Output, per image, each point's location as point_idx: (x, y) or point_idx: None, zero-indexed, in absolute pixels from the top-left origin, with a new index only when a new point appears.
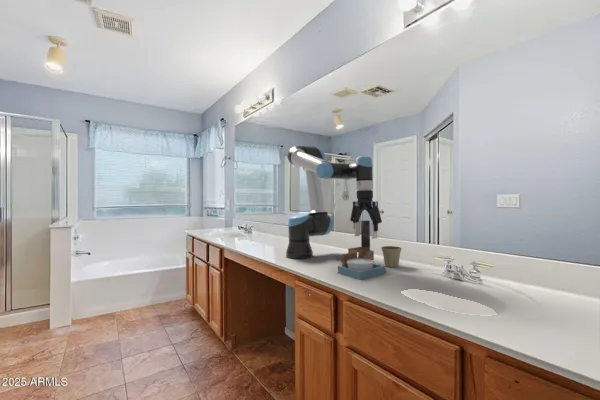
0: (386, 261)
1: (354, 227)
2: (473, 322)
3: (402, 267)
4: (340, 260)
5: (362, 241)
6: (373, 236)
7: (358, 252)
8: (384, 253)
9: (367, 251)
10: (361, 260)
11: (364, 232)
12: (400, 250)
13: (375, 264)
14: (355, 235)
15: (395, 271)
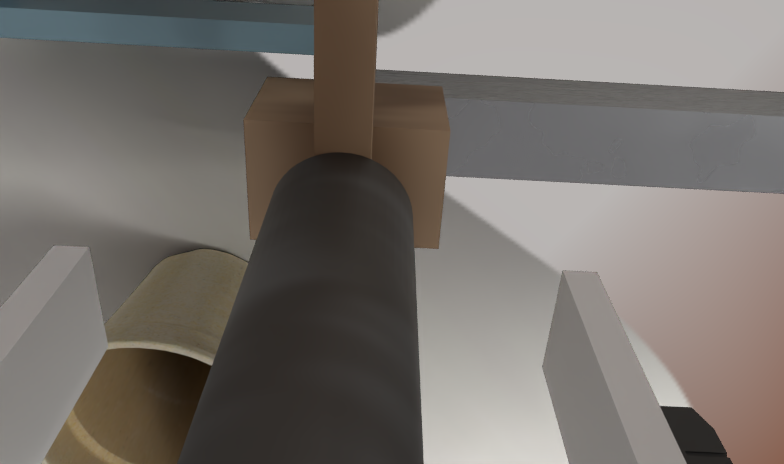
0: (195, 272)
1: (663, 415)
2: None
3: (107, 320)
4: (775, 94)
5: (340, 195)
6: (32, 280)
7: (443, 118)
8: (189, 319)
9: (274, 147)
10: None
11: (261, 311)
12: (59, 445)
13: (92, 20)
14: (576, 283)
15: (14, 155)
